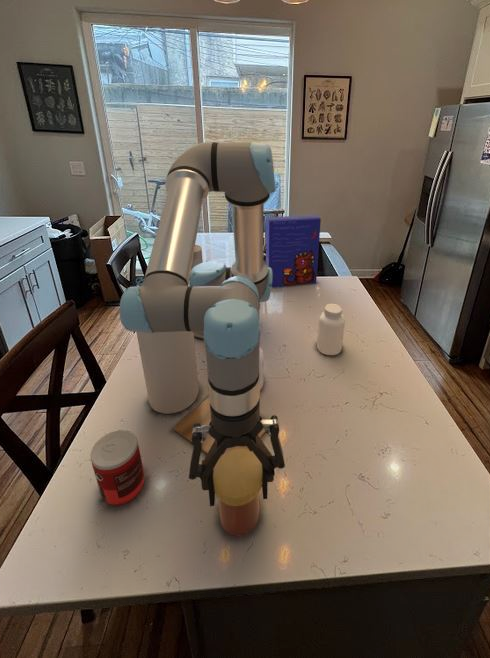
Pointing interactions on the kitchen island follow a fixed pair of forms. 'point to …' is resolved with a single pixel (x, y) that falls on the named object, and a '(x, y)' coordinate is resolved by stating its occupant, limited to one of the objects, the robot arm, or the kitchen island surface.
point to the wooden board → (204, 418)
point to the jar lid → (237, 477)
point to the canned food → (118, 467)
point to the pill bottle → (331, 330)
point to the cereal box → (292, 249)
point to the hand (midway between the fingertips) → (238, 494)
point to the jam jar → (239, 517)
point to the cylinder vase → (169, 369)
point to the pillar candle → (197, 257)
